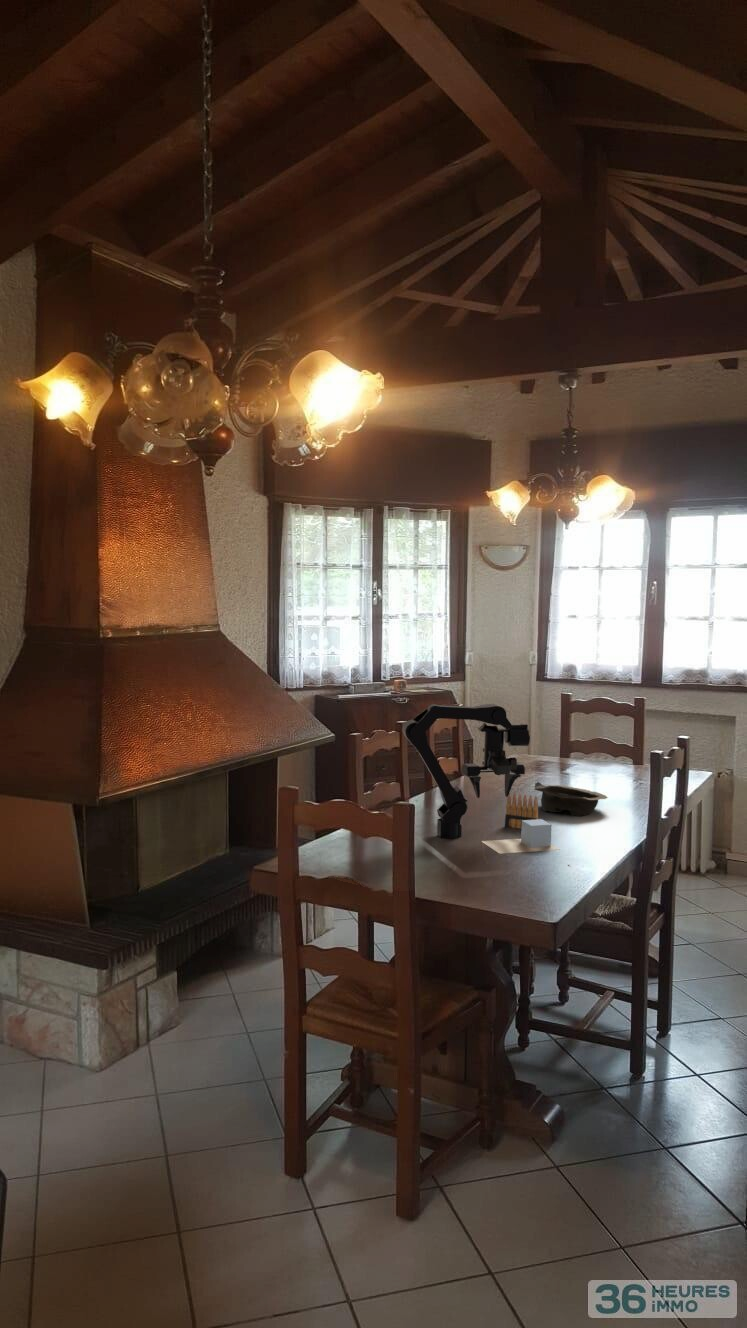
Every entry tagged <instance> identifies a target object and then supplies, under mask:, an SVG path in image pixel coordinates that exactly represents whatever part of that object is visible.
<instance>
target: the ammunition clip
mask: <svg viewBox="0 0 747 1328" xmlns="http://www.w3.org/2000/svg"><path fill="white" fill-rule="evenodd" d="M538 802H539V801H538V797H537V795H535V797H534V800H533V798H532V795H531V794H530V795H529V797H528V800H527V794H524V796H523V799H522V794H521V793H519V794H518V798H517V795H516V793H515V792H514V793H513V795H511V791H510V792H509V795H508V797H506V806H505V817H504V828H513V829H521V828H522V820H536V819H539V806H538Z"/></svg>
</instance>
